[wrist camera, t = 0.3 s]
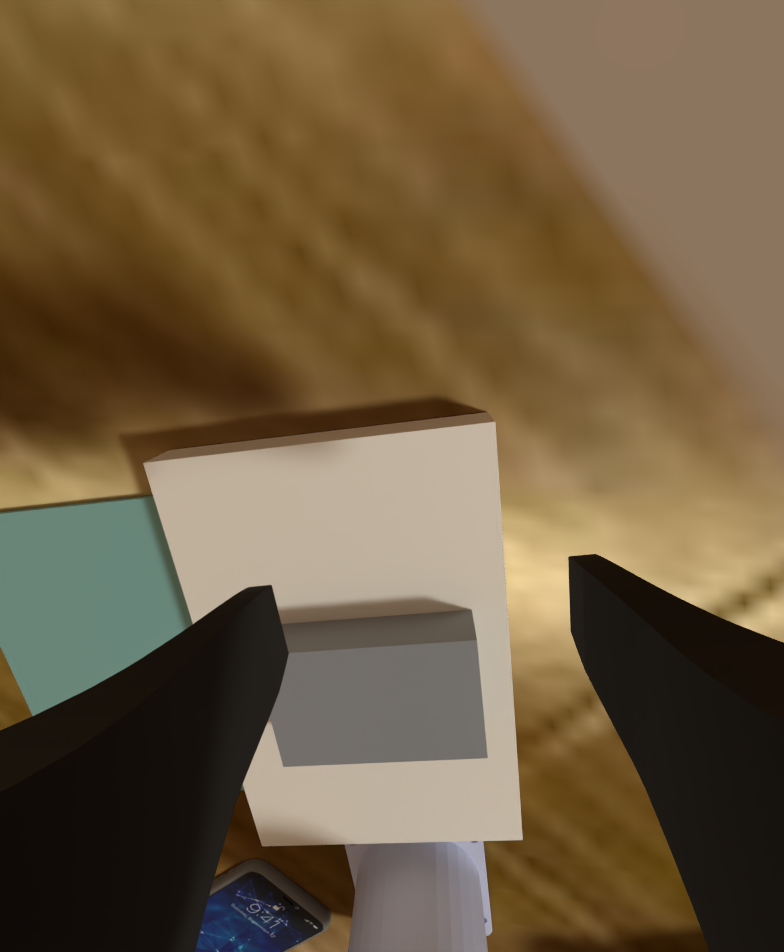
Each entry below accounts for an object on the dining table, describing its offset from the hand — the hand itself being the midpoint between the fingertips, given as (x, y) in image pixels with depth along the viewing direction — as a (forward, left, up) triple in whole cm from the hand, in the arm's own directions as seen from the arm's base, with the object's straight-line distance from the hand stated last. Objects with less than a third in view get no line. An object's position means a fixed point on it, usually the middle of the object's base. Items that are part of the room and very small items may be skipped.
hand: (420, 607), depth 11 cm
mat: (-8, +17, -9) cm, 21 cm away
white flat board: (-8, +4, -9) cm, 13 cm away
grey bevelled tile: (-8, +3, -7) cm, 12 cm away
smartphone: (-30, +17, -10) cm, 36 cm away
